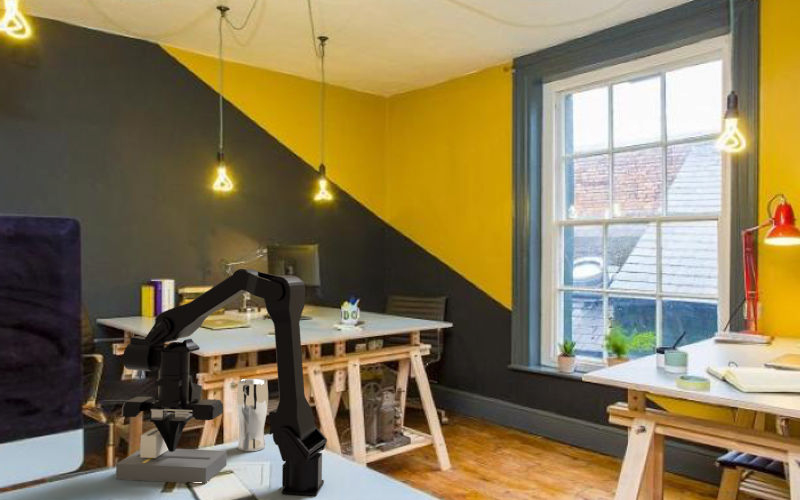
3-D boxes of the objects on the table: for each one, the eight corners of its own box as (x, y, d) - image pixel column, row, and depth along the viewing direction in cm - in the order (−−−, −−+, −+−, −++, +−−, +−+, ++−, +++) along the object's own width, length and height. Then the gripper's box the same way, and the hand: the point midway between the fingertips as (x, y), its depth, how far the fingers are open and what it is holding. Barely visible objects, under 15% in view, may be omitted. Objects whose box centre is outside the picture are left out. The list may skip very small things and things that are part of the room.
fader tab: (168, 450, 119) (168, 428, 119) (155, 458, 114) (156, 435, 114) (153, 449, 119) (153, 427, 120) (140, 457, 115) (140, 434, 115)
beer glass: (256, 440, 137) (257, 376, 137) (273, 447, 132) (274, 381, 133) (229, 447, 132) (231, 381, 132) (246, 454, 127) (247, 385, 128)
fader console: (226, 465, 120) (226, 450, 120) (205, 483, 110) (205, 467, 111) (143, 461, 122) (144, 446, 122) (116, 479, 112) (116, 463, 112)
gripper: (234, 367, 124) (232, 441, 124) (151, 364, 126) (149, 437, 125) (212, 377, 113) (210, 458, 112) (121, 374, 115) (119, 453, 114)
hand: (172, 451), depth 116 cm, fingers closed
